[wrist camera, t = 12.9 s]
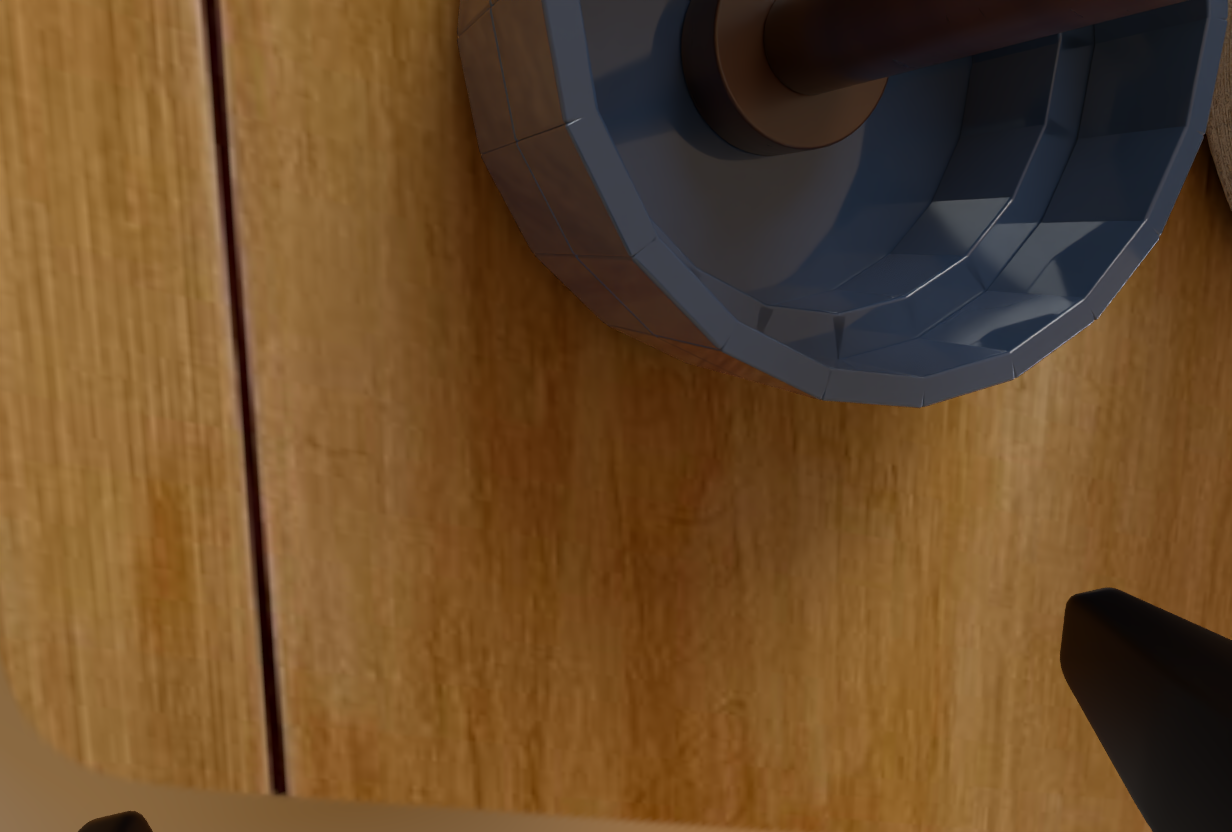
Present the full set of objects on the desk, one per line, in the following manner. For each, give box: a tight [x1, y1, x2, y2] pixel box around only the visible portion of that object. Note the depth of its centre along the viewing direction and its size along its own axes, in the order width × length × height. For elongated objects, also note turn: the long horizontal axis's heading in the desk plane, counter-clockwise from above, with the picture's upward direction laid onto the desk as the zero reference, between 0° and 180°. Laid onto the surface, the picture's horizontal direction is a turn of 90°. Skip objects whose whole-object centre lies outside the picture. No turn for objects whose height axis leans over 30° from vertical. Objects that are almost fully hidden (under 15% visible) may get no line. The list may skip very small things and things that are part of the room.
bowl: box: [457, 0, 1228, 408], centre depth 19 cm, size 14×14×6 cm
